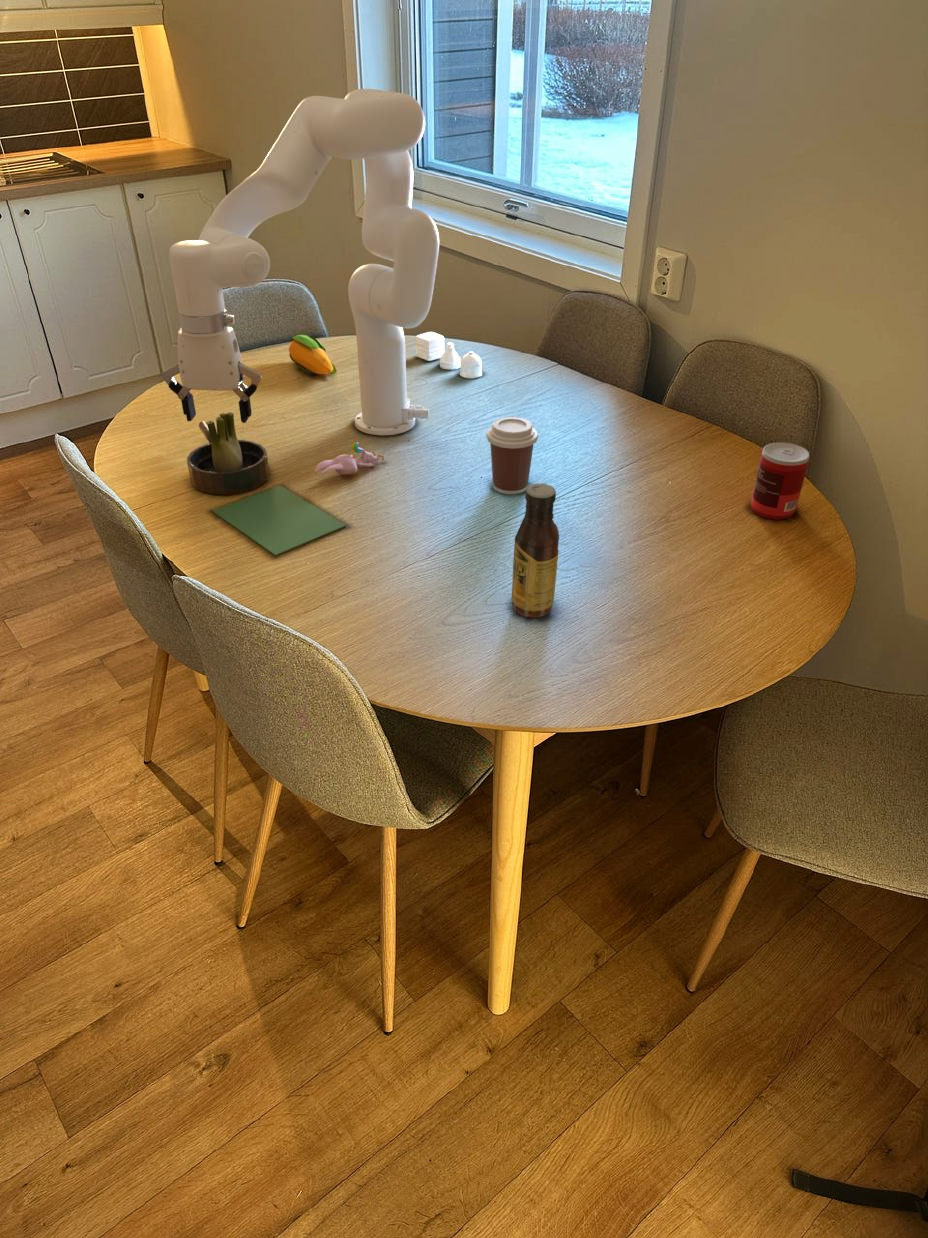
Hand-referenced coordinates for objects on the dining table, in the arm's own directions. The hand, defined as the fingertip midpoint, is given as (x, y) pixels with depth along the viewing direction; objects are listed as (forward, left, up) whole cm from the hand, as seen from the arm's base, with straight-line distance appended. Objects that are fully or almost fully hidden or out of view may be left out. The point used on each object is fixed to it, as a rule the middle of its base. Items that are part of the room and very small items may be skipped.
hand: (218, 419), depth 156 cm
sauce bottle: (-55, +40, -12) cm, 69 cm away
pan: (0, 0, -12) cm, 12 cm away
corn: (-6, -56, -12) cm, 58 cm away
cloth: (-12, +15, -12) cm, 22 cm away
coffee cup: (-52, +1, -12) cm, 54 cm away
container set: (-38, -61, -12) cm, 73 cm away
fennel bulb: (0, 0, -12) cm, 12 cm away
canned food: (-98, +8, -12) cm, 99 cm away
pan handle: (+6, -11, -9) cm, 16 cm away
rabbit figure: (-22, -3, -12) cm, 26 cm away
